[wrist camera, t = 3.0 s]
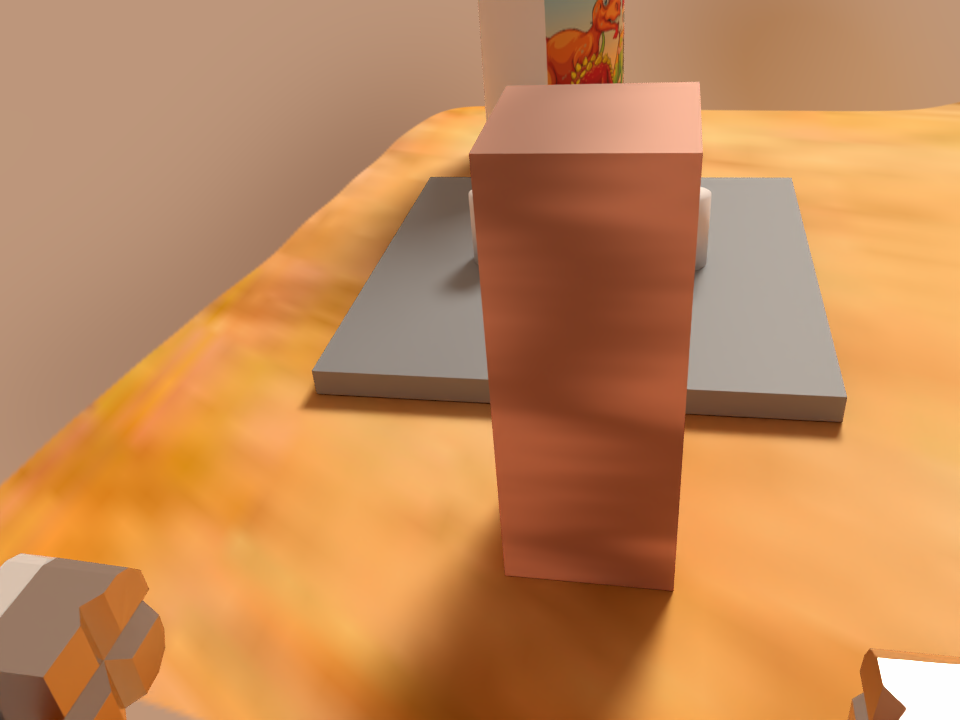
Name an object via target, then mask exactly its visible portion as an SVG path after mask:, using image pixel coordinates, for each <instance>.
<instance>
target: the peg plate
mask: <svg viewBox="0 0 960 720" xmlns="http://www.w3.org/2000/svg"><path fill="white" fill-rule="evenodd" d="M312 374H313V378H314V383H315V387H316V392H317V394H333V395H352V396H370V397H388V398H407V399H425V400H444V401H462V402H481V403H490V393H489V381H488V370H487V358H486V346H485V335H484V323H483V311H482V300H481V288H480V276H479V265H478V253H477V241H476V229H475V218H474V206H473V194H472V183H471V177H430V179H429V181H428V182H427V184H426V185H425V187H424V189H423V190H422V192H421V194H420V195H419V197H418V199H417V200H416V202H415V203H414V205H413V207H412V208H411V210H410V212H409V213H408V215H407V216H406V218H405V220H404V221H403V223H402V225H401V226H400V228H399V230H398V231H397V233H396V234H395V236H394V238H393V239H392V241H391V243H390V244H389V246H388V248H387V249H386V251H385V252H384V254H383V256H382V257H381V259H380V261H379V262H378V264H377V265H376V267H375V269H374V270H373V272H372V274H371V275H370V277H369V279H368V280H367V282H366V283H365V285H364V287H363V288H362V290H361V292H360V293H359V295H358V297H357V298H356V300H355V301H354V303H353V305H352V306H351V308H350V310H349V311H348V313H347V314H346V316H345V318H344V319H343V321H342V323H341V324H340V326H339V328H338V329H337V331H336V332H335V334H334V336H333V337H332V339H331V341H330V342H329V344H328V346H327V347H326V349H325V350H324V352H323V354H322V355H321V357H320V359H319V360H318V362H317V363H316V365H315V367H314V368H313V370H312ZM846 400H847V395H846V391H845V387H844V383H843V379H842V375H841V371H840V367H839V363H838V359H837V355H836V352H835V348H834V344H833V340H832V336H831V332H830V328H829V324H828V320H827V316H826V312H825V308H824V304H823V300H822V296H821V293H820V289H819V285H818V281H817V277H816V273H815V269H814V265H813V261H812V257H811V253H810V249H809V245H808V241H807V237H806V233H805V230H804V226H803V222H802V218H801V214H800V210H799V206H798V202H797V198H796V194H795V190H794V186H793V182H792V178H701V186H700V201H699V216H698V231H697V246H696V260H695V275H694V290H693V305H692V320H691V335H690V350H689V365H688V380H687V395H686V410H685V414H702V415H720V416H739V417H757V418H775V419H794V420H812V421H831V422H842V421H843V416H844V410H845V405H846Z"/></svg>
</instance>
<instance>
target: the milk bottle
mask: <svg viewBox="0 0 960 720" xmlns="http://www.w3.org/2000/svg"><path fill="white" fill-rule="evenodd" d="M478 6H479V23H480V38H481V53H482V66H483V80H484V93H485V108H486V121H487V120H488V118H489V117H490V115H491V113H492V111H493V109H494V107H495V106H496V104H497V102H498V100H499V98H500V97H501V95H502V93H503V91H504V89H505V88H506V86H513V85H565V84H616V83H623V74H624V66H623V65H624V0H478Z"/></svg>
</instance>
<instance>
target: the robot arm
mask: <svg viewBox="0 0 960 720" xmlns="http://www.w3.org/2000/svg"><path fill="white" fill-rule="evenodd" d="M148 590H149V588H148V585H147V583H146V581H145V579H144V577H143V574H142V572H141V570H138V569H133V568H127V567H120V566H112V565H105V564H98V563H91V562H84V561H77V560H70V559H63V558H54V557H46V556H38V555H30V554H22V553H21V554H19V555H17V556H15V557H13V558H11V559H9V560H7V561H6V562H5V563H4V564H3V565H2V566H1V567H0V720H126V712H125V708H126V707H128V706H129V705H131V704H132V703H134V702H135V701H137V700H138V699H140V698H141V697H142V696H144V695H145V694H147V692H148V690H149V689H150V687H151V685H152V683H153V681H154V680H155V678H156V676H157V674H158V673H159V669H160V665H161V662H162V658H163V654H164V650H165V634H164V627H163V624H162V622H161V619H160V616H159V614H157V613H156V612H155V611H154V610H153V609H152V608H151V607H149V606H148V605H147V604H146V603H145V602H144V601H143V599H144V597H145V595H146V594H147V592H148ZM860 676H861V681H862V687H863V693H862V694H860V695H858V696H857V697H855V698H853V699H852V702H851V707H850V711H849V716H848V720H960V657H954V656H944V655H934V654H924V653H913V652H903V651H893V650H883V649H873V648H870V649H869V650H868V651H867V653H866V654H865V655H864V658H863V662H862V665H861V669H860Z"/></svg>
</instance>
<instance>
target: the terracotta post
mask: <svg viewBox="0 0 960 720" xmlns="http://www.w3.org/2000/svg"><path fill="white" fill-rule="evenodd" d="M702 156H703V148H702V126H701V103H700V82H674V83H673V82H672V83H669V82H668V83H616V84H565V85H513V86H506V88H505V89H504V91H503V93H502V95H501V97H500V98H499V100H498V102H497V104H496V106H495V107H494V109H493V111H492V113H491V115H490V117H489V118H488V120H487V122H486V124H485V126H484V127H483V129H482V131H481V133H480V135H479V137H478V138H477V140H476V142H475V144H474V146H473V147H472V149H471V151H470V153H469V159H470V171H471V183H472V194H473V206H474V218H475V229H476V241H477V253H478V265H479V276H480V288H481V300H482V311H483V323H484V335H485V346H486V358H487V370H488V381H489V393H490V405H491V416H492V428H493V440H494V451H495V463H496V475H497V486H498V498H499V510H500V522H501V533H502V545H503V557H504V568H505V575H508V576H518V577H529V578H539V579H550V580H561V581H571V582H582V583H593V584H603V585H614V586H625V587H635V588H646V589H657V590H667V591H673V589H674V574H675V559H676V544H677V529H678V514H679V499H680V485H681V470H682V455H683V440H684V425H685V410H686V395H687V380H688V365H689V350H690V335H691V320H692V305H693V290H694V275H695V260H696V246H697V231H698V216H699V201H700V186H701V171H702Z"/></svg>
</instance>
